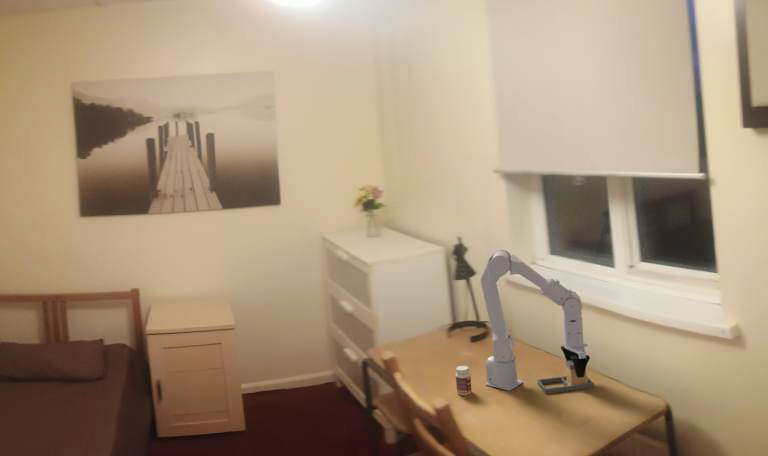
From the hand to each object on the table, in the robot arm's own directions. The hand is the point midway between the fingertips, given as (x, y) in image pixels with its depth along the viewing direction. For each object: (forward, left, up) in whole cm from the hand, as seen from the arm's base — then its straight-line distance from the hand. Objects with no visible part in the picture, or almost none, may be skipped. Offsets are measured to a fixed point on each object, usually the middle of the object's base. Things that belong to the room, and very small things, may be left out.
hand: (576, 372), depth 204 cm
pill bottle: (-27, -23, -4) cm, 36 cm away
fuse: (0, 0, -4) cm, 4 cm away
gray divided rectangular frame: (-2, -3, -4) cm, 6 cm away
